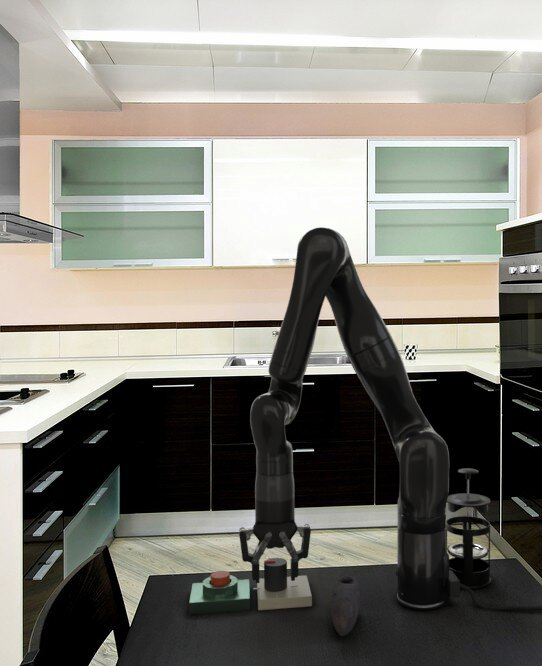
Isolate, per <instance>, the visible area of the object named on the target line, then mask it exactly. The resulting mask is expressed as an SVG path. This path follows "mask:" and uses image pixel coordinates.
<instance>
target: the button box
mask: <svg viewBox="0 0 542 666" xmlns="http://www.w3.org/2000/svg"><path fill="white" fill-rule="evenodd" d="M250 589H251V588H250V579H248V578H247V579H238V577H236V576H234V575H231V574H230V583H229V584H227V585H223V586H214V585H211V576H208V577H207V578H204V580H202V582H192V584H191V590H190V595H189V601H188V609H189V610H188V612H189V613H188V614H189V615H199V614H212V613H224V612H225V613H226V612H237V611H250V610H251V591H250Z"/></svg>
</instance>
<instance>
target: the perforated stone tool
mask: <svg viewBox="0 0 542 666" xmlns="http://www.w3.org/2000/svg"><path fill="white" fill-rule="evenodd" d="M359 587H360V583H359V580H358V577H357V576H356V574H355V573H354V572H351V571H346V570H344V571H341V572H339V574H338V575H337V577H336V579H335V581H334V584H333V587H332V591H331V595H330V616H331V621H332V624H333V627H334V629H335V631H336V633H337V634H338V635H339V636H340V637H345V636H347V635H348V634H350V632H352V630H353V629H354V627H355V624H356V622H357V619H358V616H359V611H360V602H361V593H360V591H359V589H360V588H359Z"/></svg>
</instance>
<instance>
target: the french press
mask: <svg viewBox="0 0 542 666" xmlns="http://www.w3.org/2000/svg"><path fill="white" fill-rule="evenodd" d="M457 473H459V474H462V475H465V480H466V493H465V492H464V493H463V492H462V493H454V494H453V493H452V494H450V495H449V494H448V499H447V502H446V503H447V510H448V511H449V512H451V513H456V512H458V511H459V510H461V509H464V508H466V514H462V515H459V516H453V517H449V518H447V519H446V552H447V553H448V554H449V556H452V557H451V558H449V570H451V571H452V572H453V573H454V574H455V576H456V577H457V578H458V579H459V581H460V584H463V585H465V586H467V587H468V588H470V589H471V590H472V591H474V590H481V589H485V588H487V587H489V586H490V585H491V583H492V578H491V523H490V521H489V520H487V519H486V518H483V517H478V516H472V515H471V514H470V508H473V509H475V510H476V511H477V512H480V513H481V514H487V513H488V512H489V504H490V503H491V499H490V498H489V497H488V496H485V495H483V494H482V495H481V494H477V493H470V480H471V475H477V474H478V473H479V470H477V469H475V468H469V467H467V468H466V467H465V468H460V469H458V470H457ZM460 523H462V528H459V527H455V526H452V525H453V524H460ZM472 524H477V525H481V526H484V527H483V528H476V529H472ZM448 532H449V533H451V534H453V535H456V536H461V537H462V542H455V543H452V544H450V545H448ZM485 535H488V539H487V540H488V541H487V542H488V543H487V545H488V548H487V546H484V545H483V544H479V543H474V537H481V536H485ZM487 556H488V557H487ZM486 557H487V559H488V561H487V560H485V559H484V558H486ZM460 590H463V589H462V588H460Z"/></svg>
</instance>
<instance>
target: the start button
mask: <svg viewBox="0 0 542 666" xmlns="http://www.w3.org/2000/svg"><path fill="white" fill-rule="evenodd" d="M230 575H231V573H230V571H226V570H217V571H213V572H212V573H211V574H210V577H211V585H214V586H223V585H227V584H229V583H230Z"/></svg>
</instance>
